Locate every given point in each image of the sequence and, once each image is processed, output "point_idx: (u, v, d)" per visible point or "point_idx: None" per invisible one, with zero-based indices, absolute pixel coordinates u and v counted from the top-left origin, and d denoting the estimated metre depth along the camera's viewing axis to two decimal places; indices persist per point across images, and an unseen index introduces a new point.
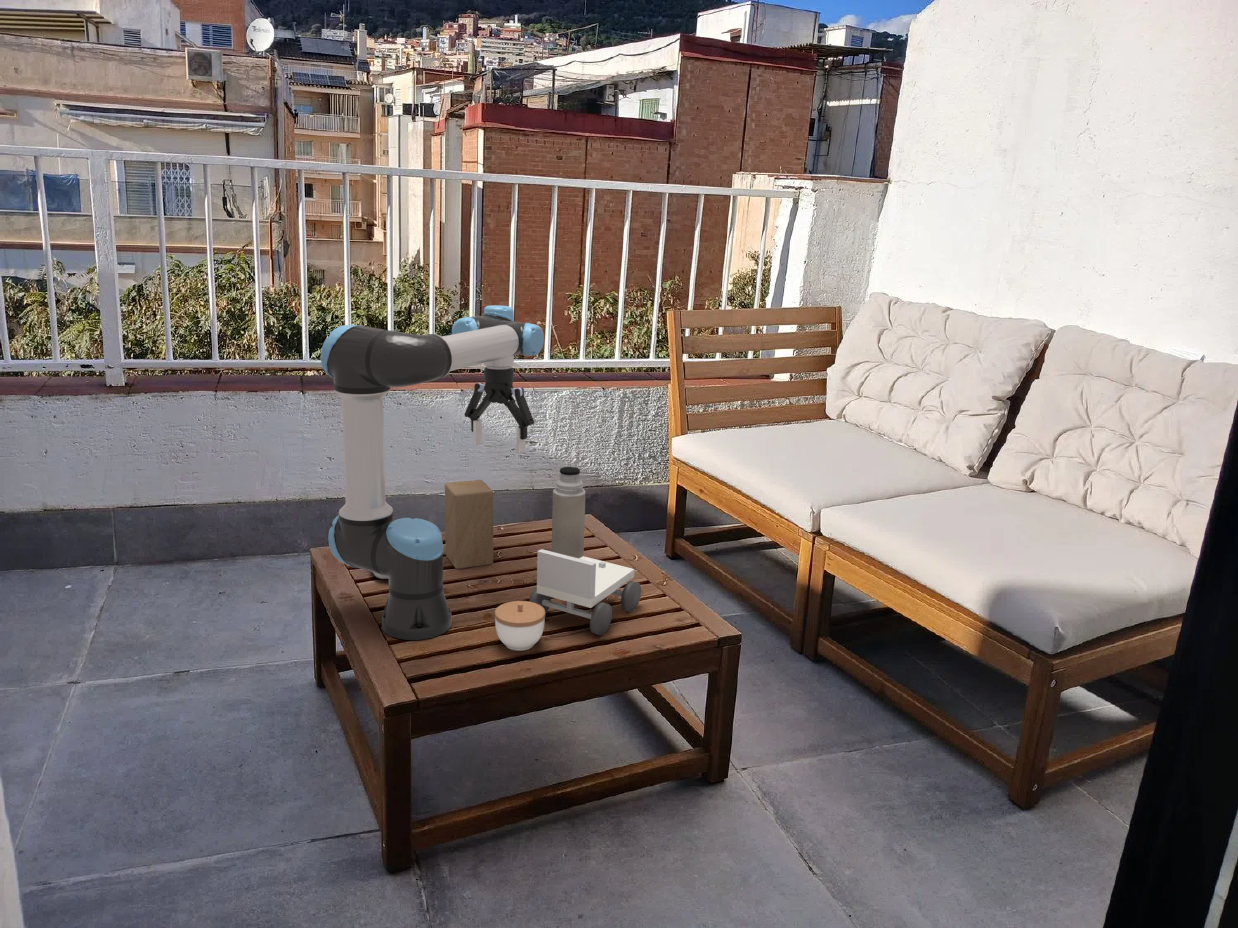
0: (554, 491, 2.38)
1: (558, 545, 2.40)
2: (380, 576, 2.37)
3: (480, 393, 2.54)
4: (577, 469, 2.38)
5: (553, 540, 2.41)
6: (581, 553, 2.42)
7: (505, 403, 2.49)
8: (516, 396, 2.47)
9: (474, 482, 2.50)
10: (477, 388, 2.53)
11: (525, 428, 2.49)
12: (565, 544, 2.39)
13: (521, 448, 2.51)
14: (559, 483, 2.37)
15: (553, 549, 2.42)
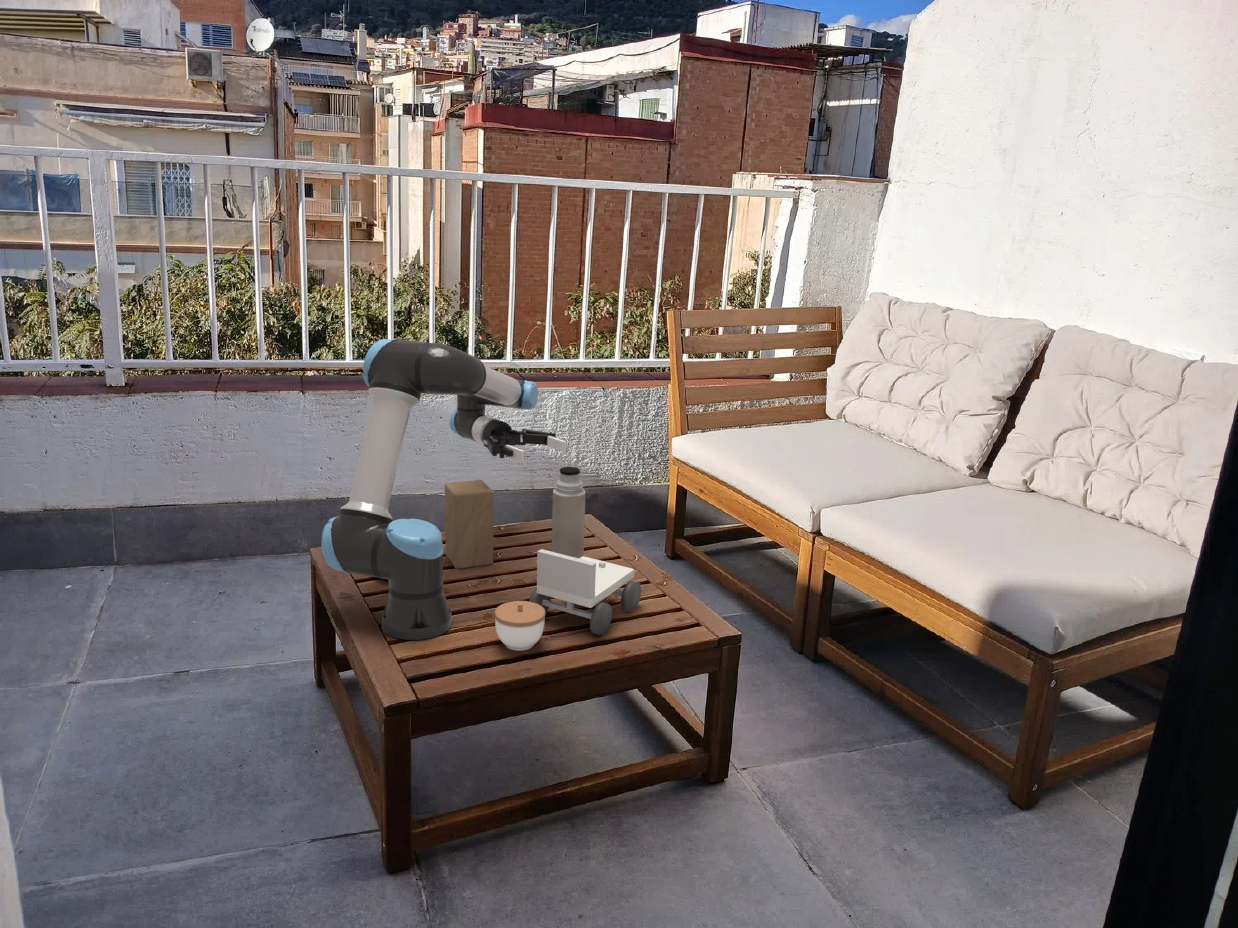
0: (554, 491, 2.38)
1: (558, 545, 2.40)
2: None
3: None
4: (577, 469, 2.38)
5: (553, 540, 2.41)
6: (581, 553, 2.42)
7: (523, 432, 2.54)
8: (527, 430, 2.57)
9: (474, 482, 2.50)
10: (488, 437, 2.50)
11: None
12: (565, 544, 2.39)
13: None
14: (559, 483, 2.37)
15: (553, 549, 2.42)
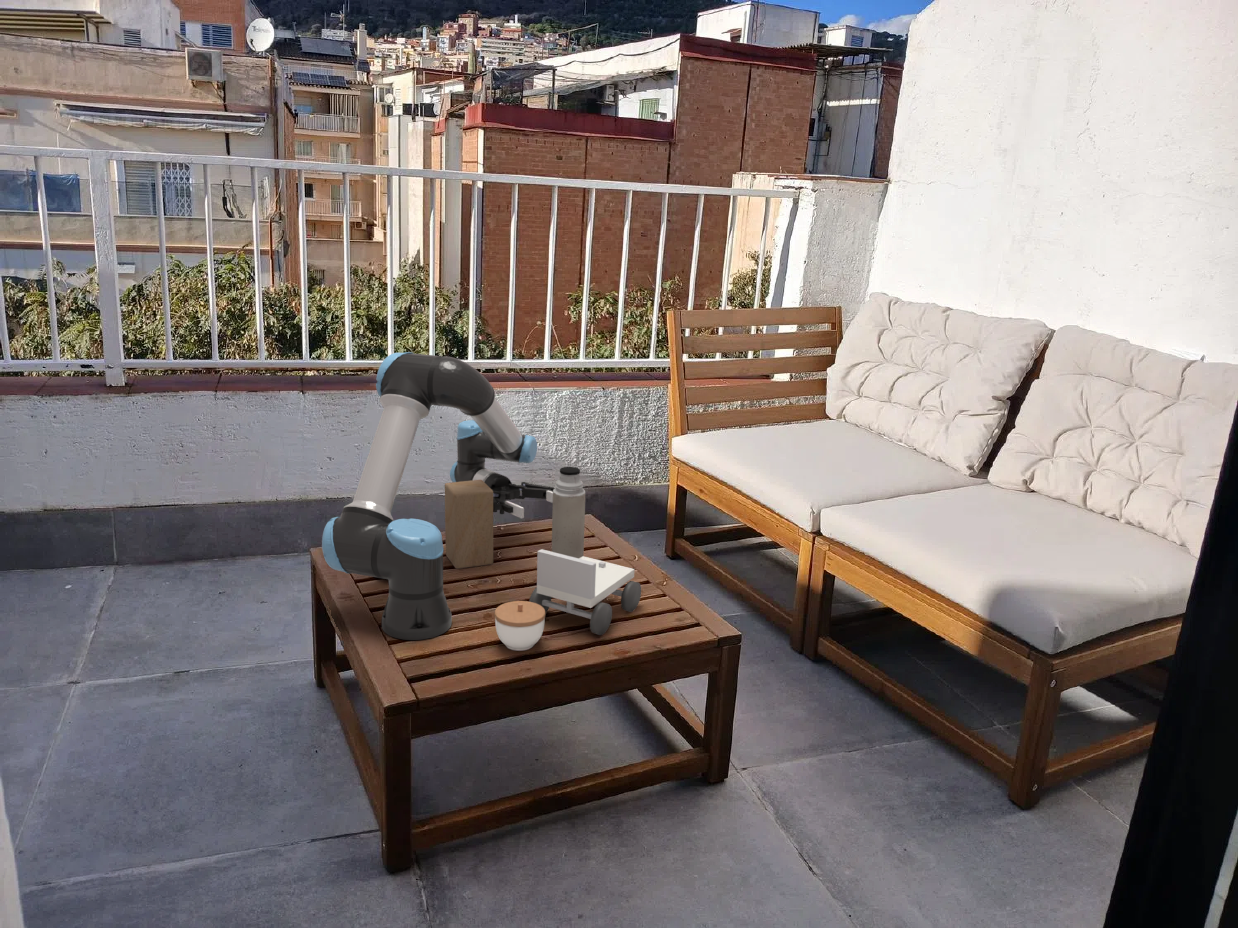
0: (554, 491, 2.38)
1: (558, 545, 2.40)
2: None
3: None
4: (577, 469, 2.38)
5: (553, 540, 2.41)
6: (581, 553, 2.42)
7: (522, 486, 2.58)
8: (526, 484, 2.62)
9: (474, 482, 2.50)
10: None
11: None
12: (565, 544, 2.39)
13: None
14: (559, 483, 2.37)
15: (553, 549, 2.42)
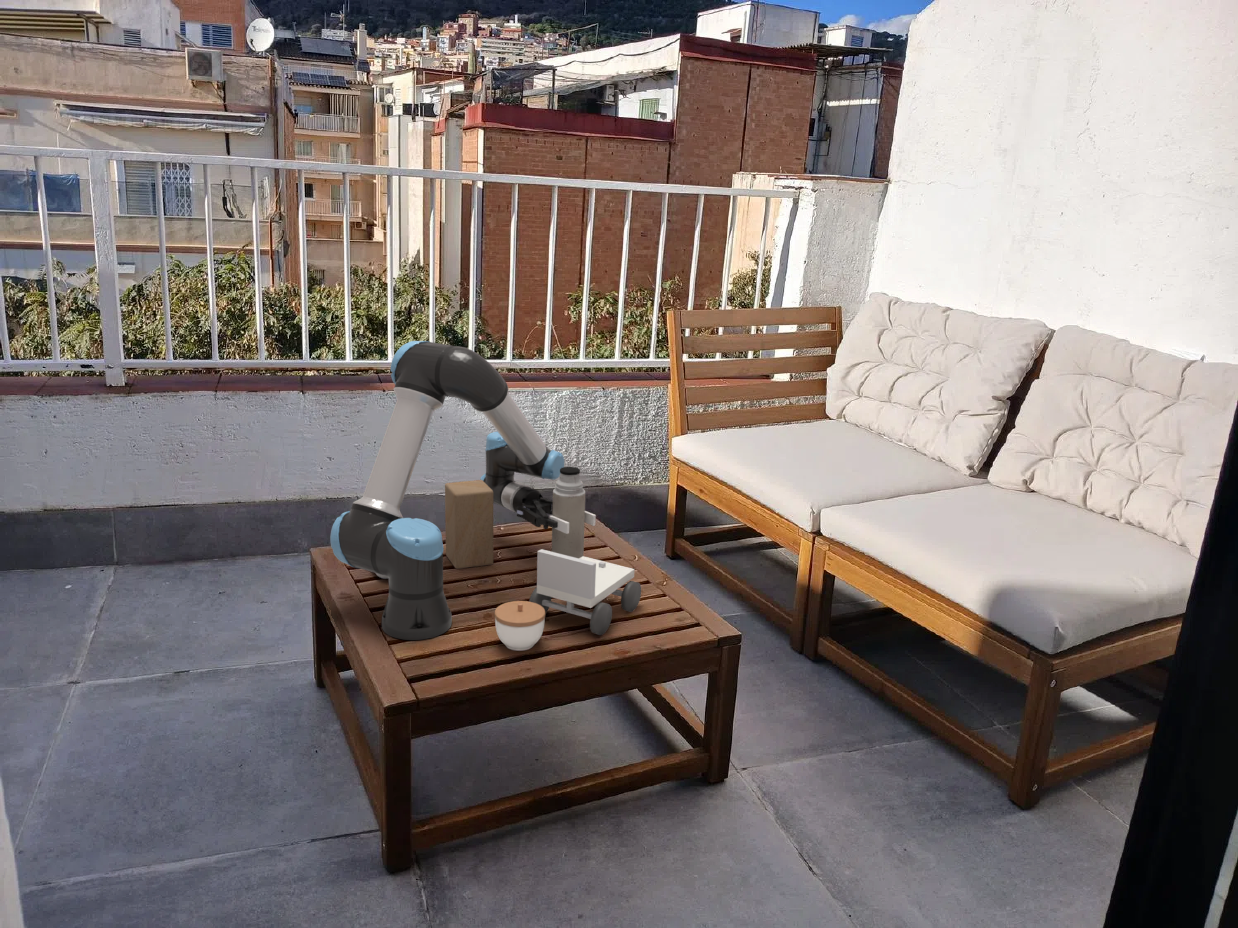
0: (554, 491, 2.38)
1: (558, 545, 2.40)
2: (383, 576, 2.37)
3: None
4: (577, 469, 2.38)
5: (553, 540, 2.41)
6: (581, 553, 2.42)
7: None
8: None
9: (474, 482, 2.50)
10: (522, 507, 2.45)
11: None
12: (565, 544, 2.39)
13: None
14: (559, 483, 2.37)
15: (553, 549, 2.42)
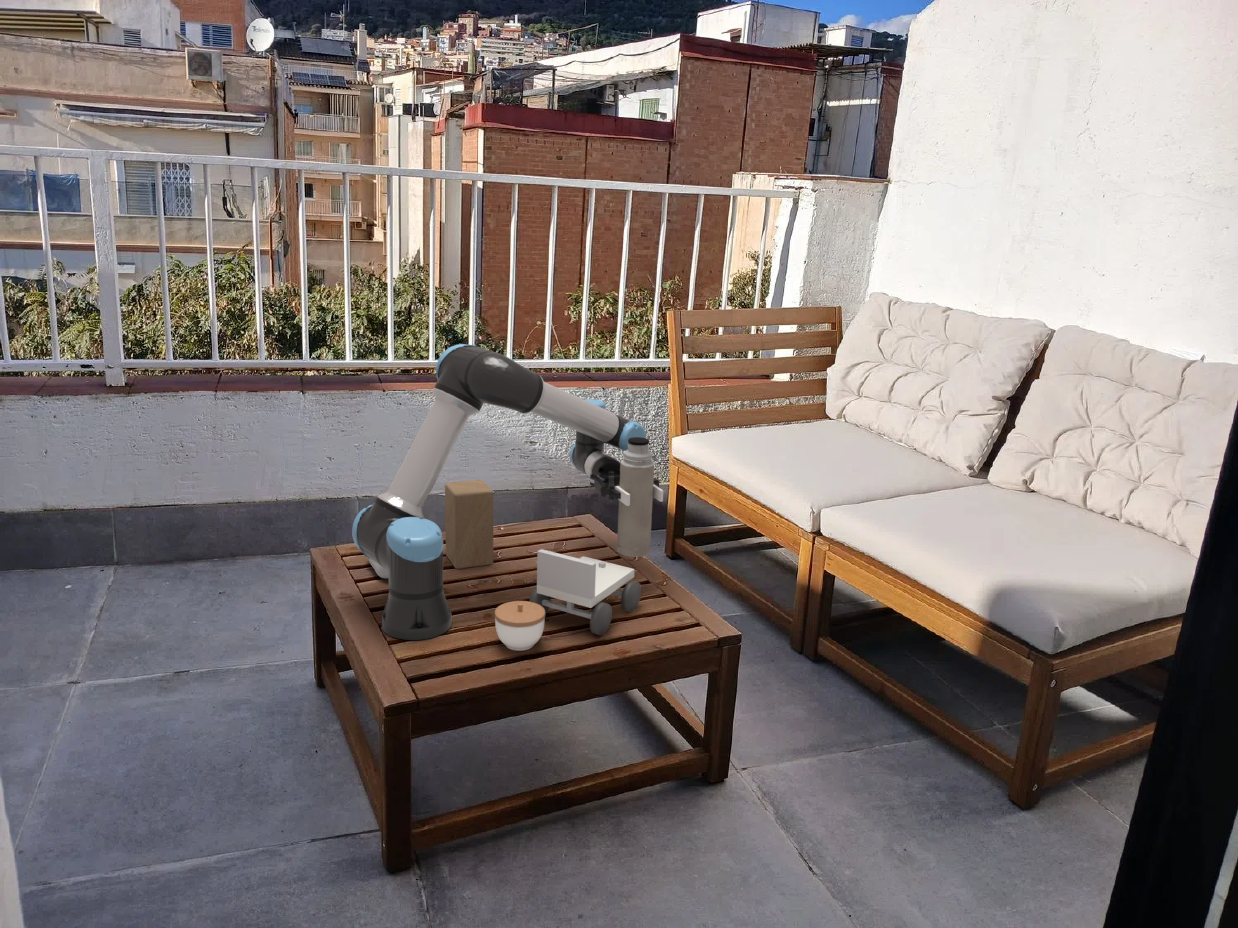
0: (621, 461, 2.29)
1: (621, 518, 2.31)
2: (384, 576, 2.37)
3: None
4: (646, 440, 2.27)
5: (618, 512, 2.32)
6: (646, 529, 2.31)
7: None
8: None
9: (474, 482, 2.50)
10: (595, 475, 2.38)
11: None
12: (628, 517, 2.29)
13: None
14: (625, 453, 2.27)
15: (618, 521, 2.33)
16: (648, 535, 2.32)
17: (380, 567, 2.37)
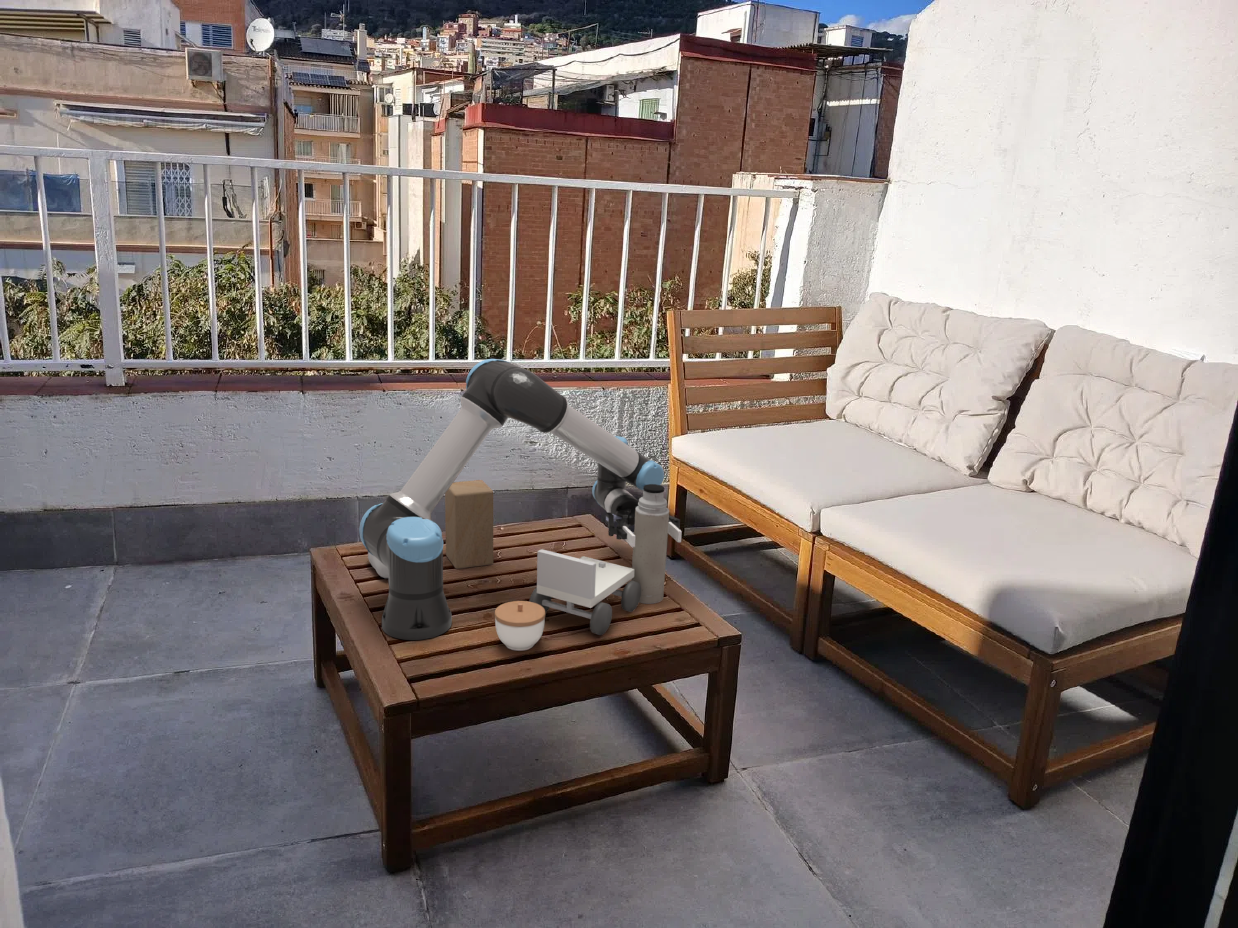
0: (636, 507, 2.29)
1: (635, 564, 2.30)
2: (385, 576, 2.37)
3: None
4: (661, 488, 2.26)
5: (632, 558, 2.32)
6: (659, 576, 2.30)
7: None
8: None
9: (474, 482, 2.50)
10: (610, 514, 2.38)
11: None
12: (641, 563, 2.29)
13: None
14: (640, 500, 2.27)
15: (632, 567, 2.32)
16: (661, 582, 2.31)
17: (381, 567, 2.37)
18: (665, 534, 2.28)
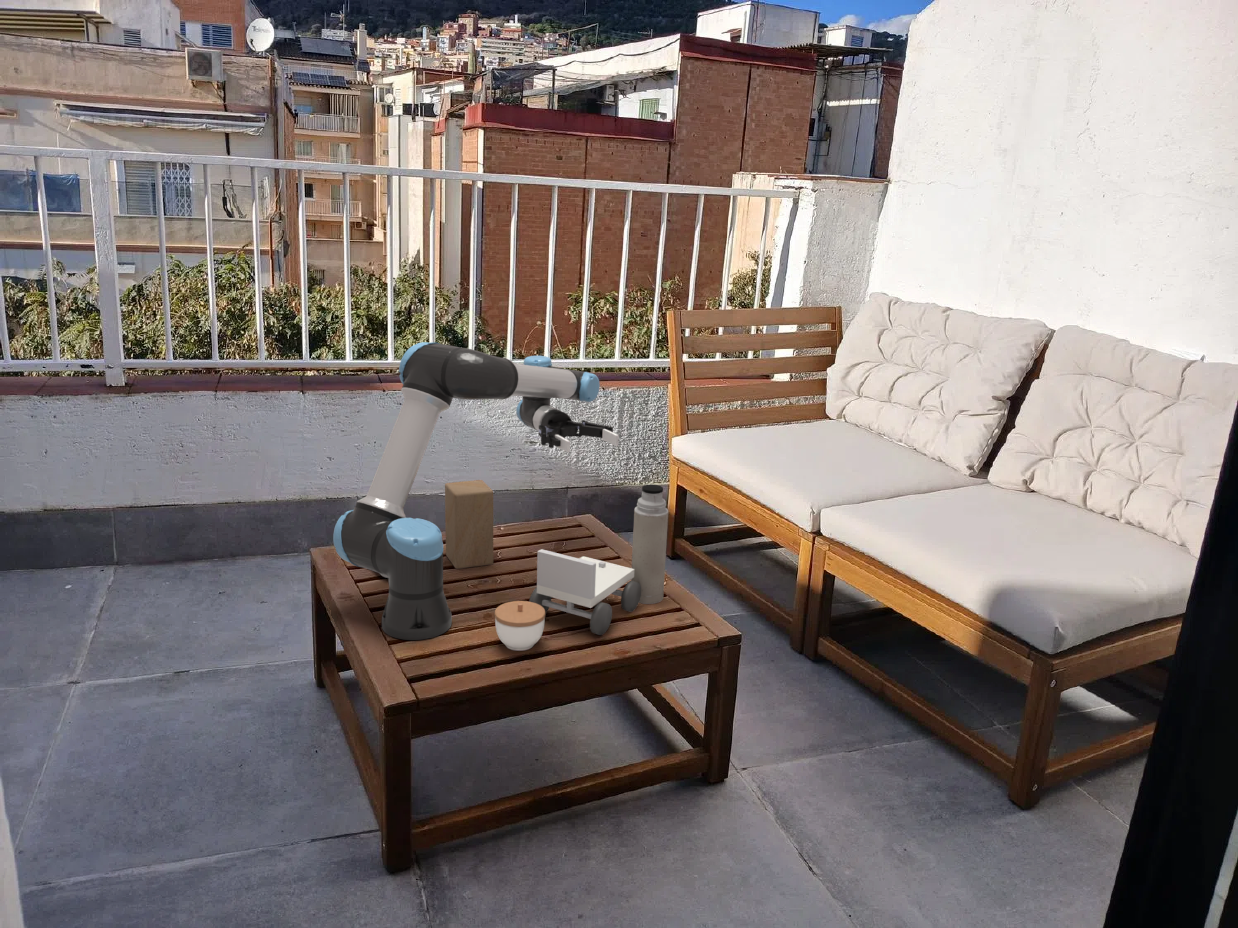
0: (635, 508, 2.29)
1: (634, 564, 2.30)
2: None
3: (545, 433, 2.46)
4: (660, 488, 2.26)
5: (632, 558, 2.32)
6: (658, 577, 2.30)
7: (580, 423, 2.49)
8: (586, 422, 2.52)
9: (474, 482, 2.50)
10: (543, 426, 2.47)
11: None
12: (641, 564, 2.29)
13: None
14: (639, 500, 2.27)
15: None
16: (661, 583, 2.31)
17: None
18: (664, 534, 2.28)
